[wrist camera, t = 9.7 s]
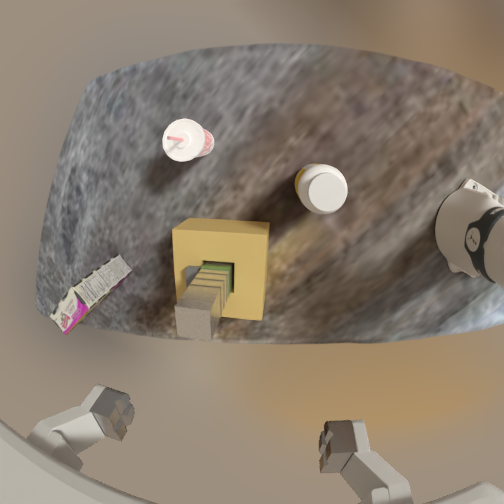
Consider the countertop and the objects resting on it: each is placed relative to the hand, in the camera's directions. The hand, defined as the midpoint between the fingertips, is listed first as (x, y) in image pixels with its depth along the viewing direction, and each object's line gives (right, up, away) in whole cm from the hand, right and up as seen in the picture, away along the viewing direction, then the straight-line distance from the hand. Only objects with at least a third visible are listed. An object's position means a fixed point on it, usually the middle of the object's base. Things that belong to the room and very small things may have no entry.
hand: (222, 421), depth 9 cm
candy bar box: (-28, +2, +44) cm, 52 cm away
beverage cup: (-7, +25, +34) cm, 43 cm away
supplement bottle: (+11, +18, +34) cm, 40 cm away
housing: (-3, +6, +40) cm, 40 cm away
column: (-4, +4, +35) cm, 36 cm away
